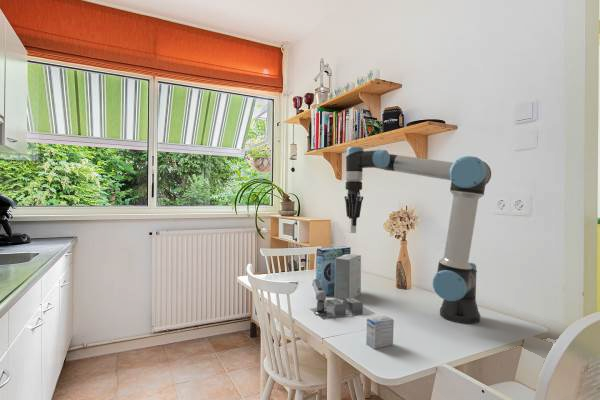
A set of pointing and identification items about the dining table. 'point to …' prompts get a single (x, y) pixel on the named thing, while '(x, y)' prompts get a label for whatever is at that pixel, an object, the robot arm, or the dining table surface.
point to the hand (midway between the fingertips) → (352, 232)
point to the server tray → (326, 314)
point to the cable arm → (319, 290)
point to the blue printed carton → (328, 266)
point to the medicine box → (379, 332)
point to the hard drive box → (347, 276)
